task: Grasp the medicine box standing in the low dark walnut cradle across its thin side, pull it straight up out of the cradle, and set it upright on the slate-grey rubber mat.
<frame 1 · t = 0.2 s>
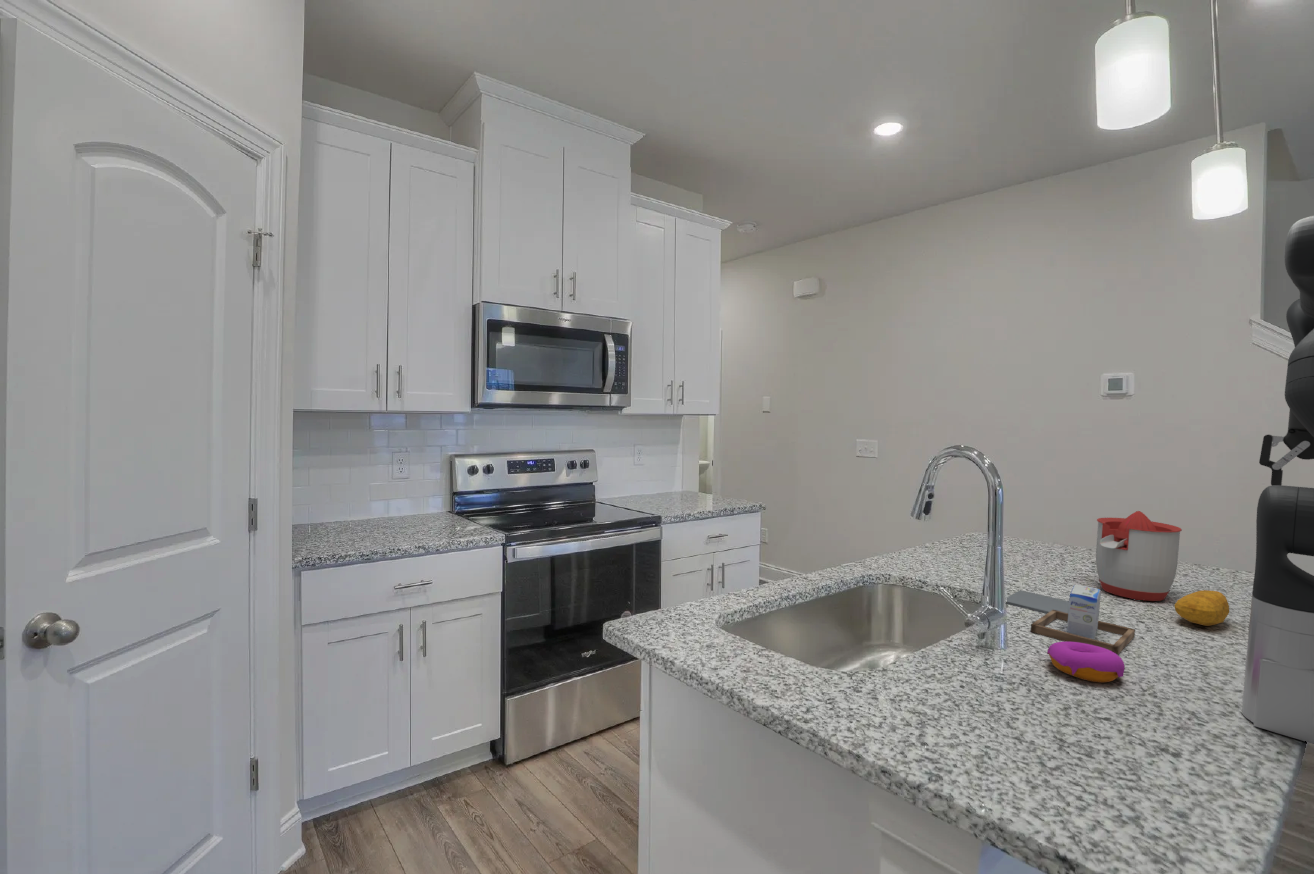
hand: (1311, 492, 112), 29 cm above the counter, tool pointing down, fingers open, 8 cm apart
slate mat: (1040, 604, 133), on the counter
medicine box: (1082, 635, 116), resting in walnut cradle
walnut cradle: (1082, 634, 116), on the counter
citrus juicer: (1129, 595, 142), on the counter
donut: (1084, 674, 99), on the counter
potato: (1201, 624, 124), on the counter
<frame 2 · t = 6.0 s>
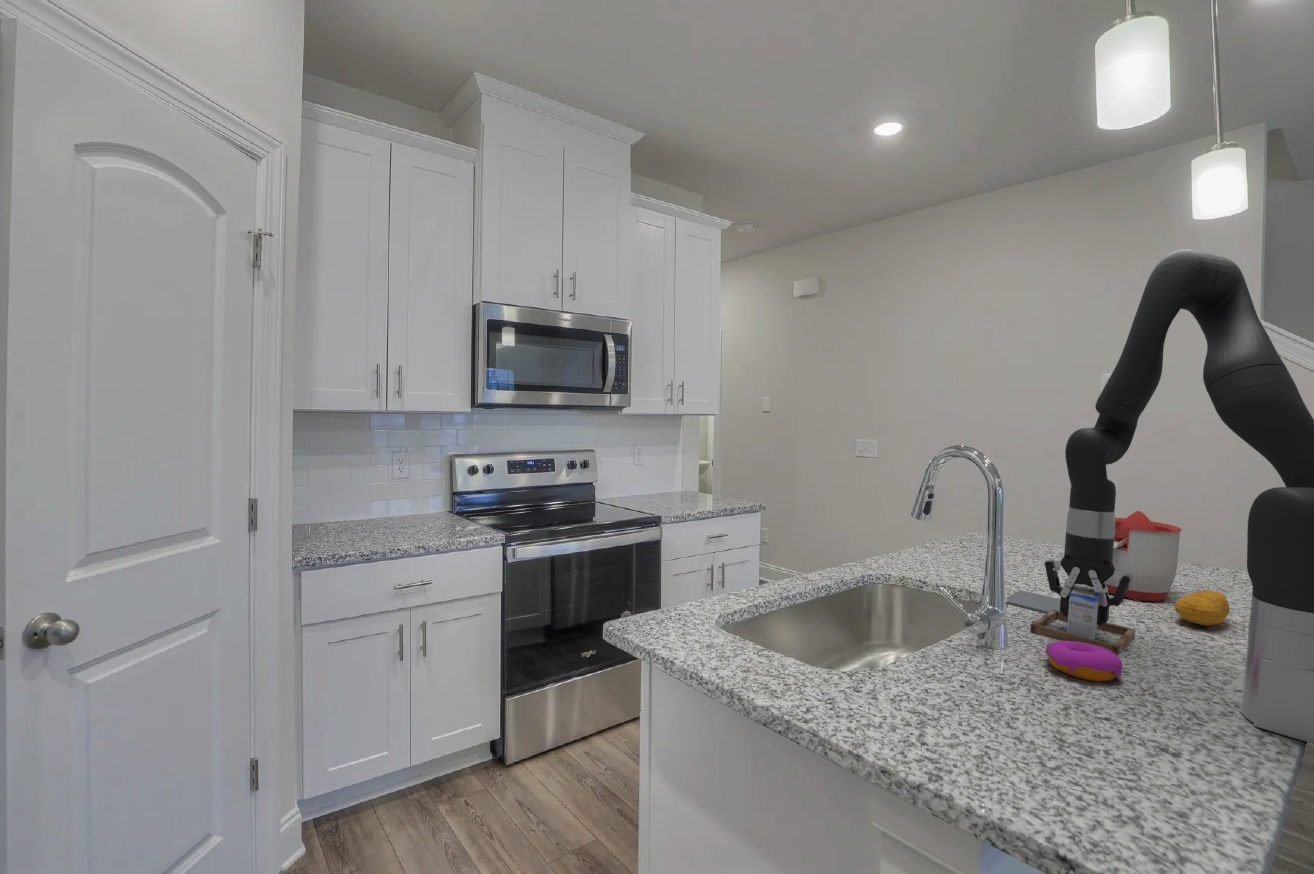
hand: (1083, 619, 116), 3 cm above the counter, tool pointing down, fingers closed on medicine box, 5 cm apart
medicine box: (1082, 635, 116), resting in walnut cradle, touching gripper
everything else where it was.
when the fingers open (5 cm above the counter, at t = 13.3 s): medicine box drops 1 cm, resting on slate mat.
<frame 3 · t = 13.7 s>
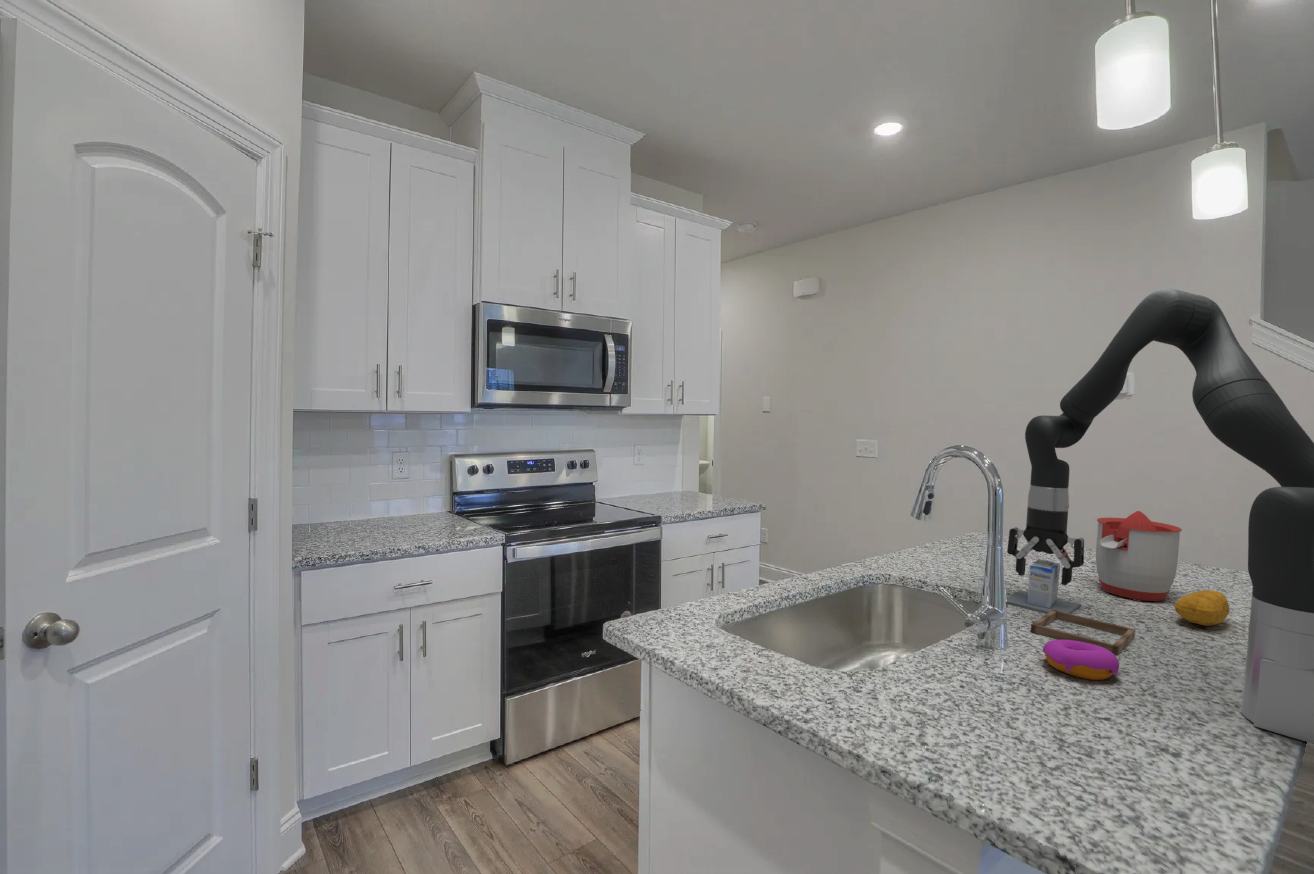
hand: (1042, 579, 133), 6 cm above the counter, tool pointing down, fingers open, 8 cm apart
medicine box: (1042, 603, 133), resting on slate mat
everything else where it was.
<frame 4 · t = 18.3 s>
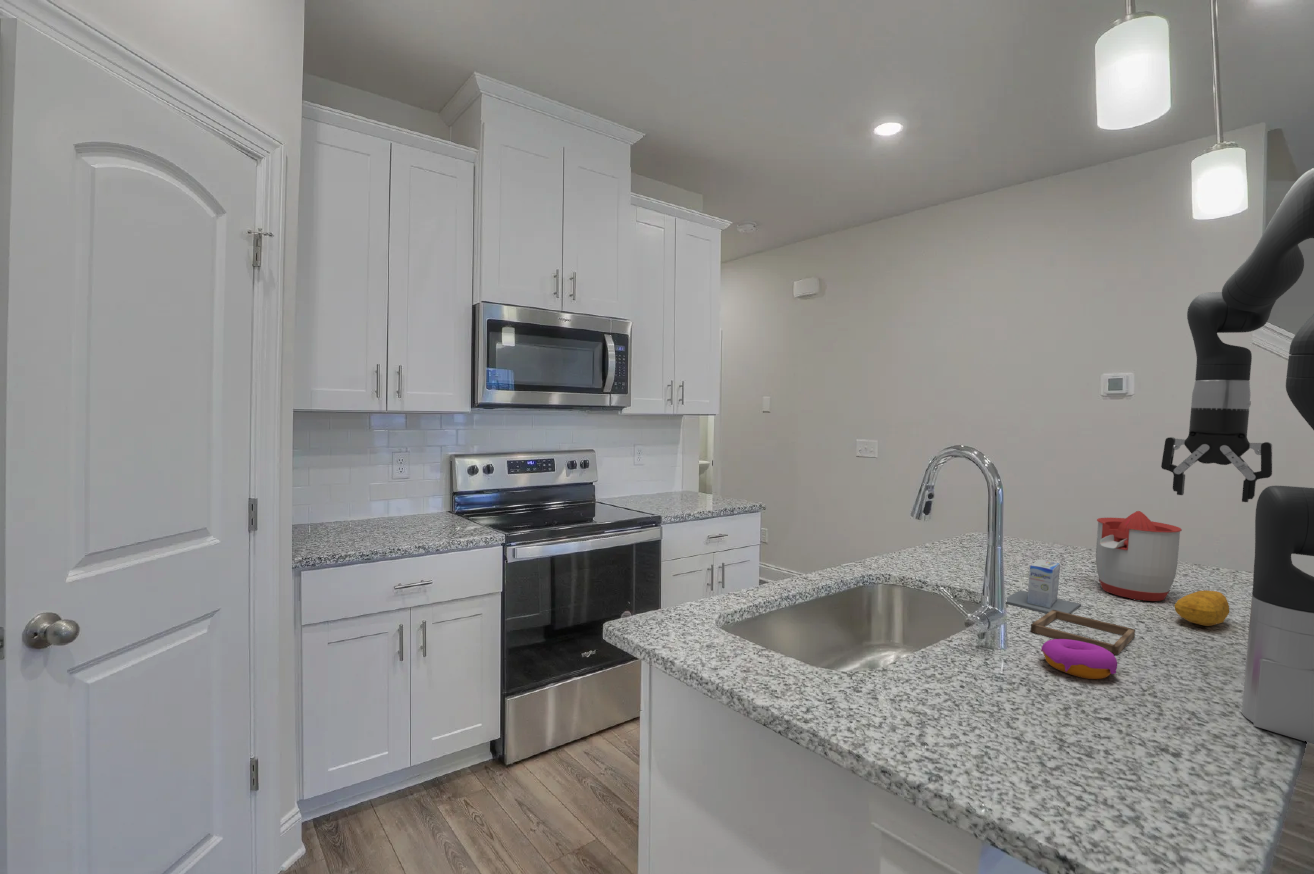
hand: (1211, 498, 107), 28 cm above the counter, tool pointing down, fingers open, 8 cm apart
at the end: medicine box inside the target area on the slate mat (0.3 cm from its centre), point 0.3 cm above the slate mat's base; medicine box tilted 0°; the gripper is holding nothing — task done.
